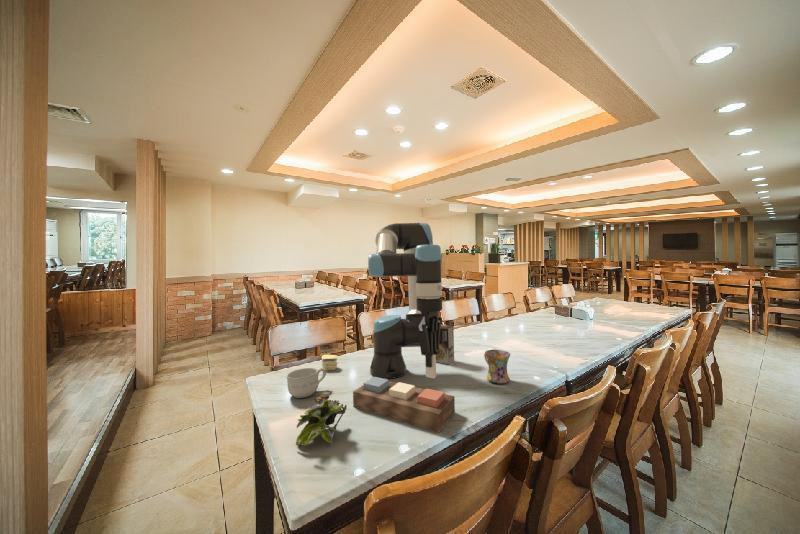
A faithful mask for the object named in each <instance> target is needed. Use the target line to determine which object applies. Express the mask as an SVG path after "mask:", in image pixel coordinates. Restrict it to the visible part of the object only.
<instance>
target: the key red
mask: <svg viewBox="0 0 800 534" xmlns="http://www.w3.org/2000/svg"><path fill="white" fill-rule="evenodd" d="M424 389H425V390H424V391H423V392H422V393H421V394H419V395H418V404H422V405H426V406H430V407H434V408H438V407H439V406H440V405H441V403H442V402H443V401H444V400H445V394H446V393H445V391H441V390H436V389H431V388H427V387H426V388H424Z"/></svg>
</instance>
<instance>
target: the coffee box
mask: <svg viewBox="0 0 800 534" xmlns="http://www.w3.org/2000/svg"><path fill="white" fill-rule="evenodd" d="M454 331H455V330H454V325H447V324H446V325H445V324H441V328H440V342H439V350H437V352H439V354H435V355H436V363H438V362H439V364H445V365H451V364H452V363H453V362H454V361H455V344H454V343H455V340H454V339H455V338H454V337H455V335H454Z"/></svg>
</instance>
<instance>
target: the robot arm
mask: <svg viewBox="0 0 800 534" xmlns="http://www.w3.org/2000/svg"><path fill="white" fill-rule="evenodd" d="M375 245H376V249H375V250H376V251H375V253H371V254H369V255H368V261H367V269H368V274H369V276H370V277H373V278H374V277H375V278H376V277H378V278H387V277H390V278H391V277H407V283H408V288H407V289H408V311H407V312H406V314H405V318H402V316H401V315H398V314H397V315H396V314H390V315H384V316H381V317H378V318H376V319H375V320H374V321H373V327H372V328H373V329H372V333H373V356H372V361H371V365H370V367H369V374H370V375H371V376H372V378H373V377H378V378H383V379H387V380H390V379H391V380H393V379H397V378H401V377H403V376H404V375H405V374H406V373H407V365H406V362H405V359H404V356H403V352H402V351H403V348H420V354H421V355H422V356H425V359H424V360H425V361H424V363H425V378H430V379H435V378H436V377H437V362H436V355H435V354H439V352H437V350H439V342H440V328H441V325H442V322H443V321H442V320H443V318H442V317H439V313H438V312H441V311H442V310H443V298H442V297H441V296H442V295H443V292H442V290H443V289H444V287H443V286H442V285H443V284H442V282H443V281H442V258H443V257H442V251H441V246H440V245H438V244H434V242H433V232H432V230H431V226H430V224H428V223H427V222H406V223H405V222H404V223H403V222H402V223H399V222H396V223H395V222H394V223H391V224H388V225H386V226H384V227H383V228H381V229H380V230H379V231H378V232H377V234H376V236H375ZM397 250H403V252H399V253H397Z"/></svg>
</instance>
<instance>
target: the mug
mask: <svg viewBox="0 0 800 534" xmlns="http://www.w3.org/2000/svg"><path fill="white" fill-rule="evenodd" d="M483 356H484V360H485V362H486V364H487V365H488V369H487V374H486V376H485V377H486V378H485V379H486V380H487V381H489V382H490V383H495V384H506V383H508V382H509V381H510V377H509V374H508V363H509V359H510V357H511V352H509V351H507V350H503V349H487V350H486V351H484V355H483Z"/></svg>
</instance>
